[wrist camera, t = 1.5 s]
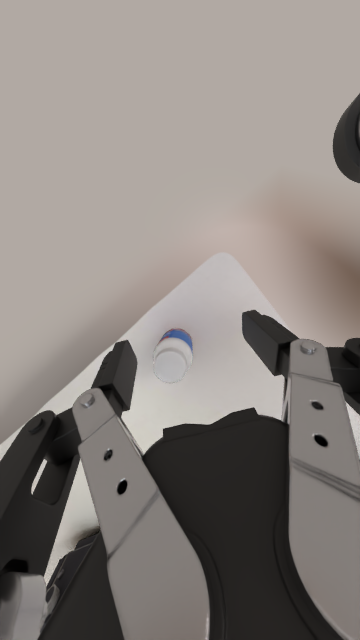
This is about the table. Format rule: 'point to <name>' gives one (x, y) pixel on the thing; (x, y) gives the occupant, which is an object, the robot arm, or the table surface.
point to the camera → (65, 574)
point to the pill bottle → (173, 356)
